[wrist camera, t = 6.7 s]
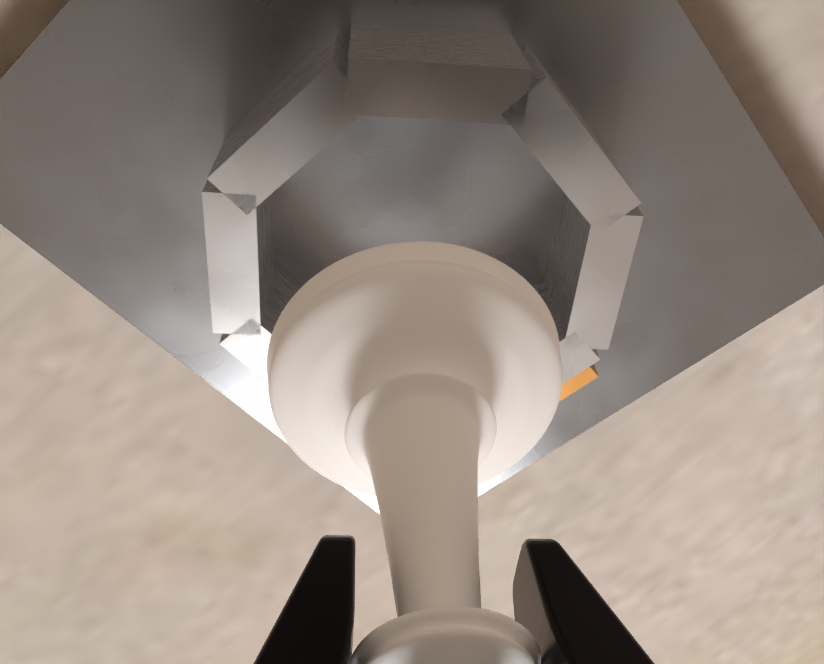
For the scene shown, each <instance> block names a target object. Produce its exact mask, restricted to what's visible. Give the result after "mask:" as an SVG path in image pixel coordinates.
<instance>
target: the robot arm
mask: <svg viewBox="0 0 824 664" xmlns="http://www.w3.org/2000/svg"><path fill="white" fill-rule="evenodd" d="M513 603H514V614H515V621H517V622H518V623H520V624H521V625H523V626H524V627H525V628H526V629H527V630H528V631H529V632H530V633H531V634H532V635H533V637H534V638H535V640H536V641H537V643H538V646H539V648H540V652H541V664H654V663H653V661H652V660H651V659H650V658H649V656H648V655H647V654H646V652H645V651H644V650H643V649H642V647H641V646H640V645H639V644H638V642H637V641H636V640H635V639H634V637H633V636H632V635H631V634H630V632H629V631H628V630H627V628H626V627H625V626H624V625H623V623H622V622H621V621H620V620H619V618H618V617H617V616H616V615H615V613H614V612H613V611H612V610H611V608H610V607H609V606H608V605H607V603H606V602H605V601H604V599H603V598H602V597H601V596H600V594H599V593H598V592H597V591H596V589H595V588H594V587H593V586H592V584H591V583H590V582H589V581H588V579H587V578H586V577H585V575H584V574H583V573H582V572H581V570H580V569H579V568H578V567H577V565H576V564H575V563H574V562H573V560H572V559H571V558H570V557H569V555H568V554H567V553H566V551H565V550H564V549H563V548H562V546H561V545H560V544H559V543H558V542H557V541H555V540H552V539H526V540H525V541H524V542H523V544H522V546H521V550H520V555H519V559H518V563H517V568H516V572H515V576H514V581H513ZM354 611H355V539H354V537H352V536H349V535H325V536H323V537H322V538H321V539H320V541H319V543H318V544H317V546H316V548H315V550H314V552H313V554H312V556H311V558H310V559H309V561H308V563H307V565H306V567H305V569H304V571H303V572H302V574H301V576H300V578H299V580H298V582H297V584H296V586H295V587H294V589H293V591H292V593H291V595H290V597H289V599H288V600H287V602H286V604H285V606H284V608H283V610H282V612H281V614H280V615H279V617H278V619H277V621H276V623H275V625H274V627H273V628H272V630H271V632H270V634H269V636H268V638H267V640H266V641H265V643H264V645H263V647H262V649H261V651H260V653H259V655H258V656H257V658H256V660H255V662H254V664H351V657H352V645H353V628H354Z"/></svg>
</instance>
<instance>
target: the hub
mask: <svg viewBox="0 0 824 664" xmlns="http://www.w3.org/2000/svg"><path fill="white" fill-rule="evenodd" d="M0 224H1V225H3V226H4V227H5V228H7V229H8V230H9V231H11V232H12V233H13V234H14V235H16V236H17V237H18V238H20V239H21V240H22V241H24V242H25V243H26V244H28V245H29V246H30V247H31V248H33V249H34V250H35V251H37V252H38V253H39V254H41V255H42V256H43V257H45V258H46V259H47V260H48V261H50V262H51V263H52V264H54V265H55V266H56V267H58V268H59V269H60V270H62V271H63V272H64V273H65V274H67V275H68V276H69V277H71V278H72V279H73V280H75V281H76V282H77V283H79V284H80V285H81V286H82V287H84V288H85V289H86V290H88V291H89V292H90V293H92V294H93V295H94V296H96V297H97V298H98V299H99V300H101V301H102V302H103V303H105V304H106V305H107V306H109V307H110V308H111V309H112V310H114V311H115V312H116V313H118V314H119V315H120V316H122V317H123V318H124V319H126V320H127V321H128V322H129V323H131V324H132V325H133V326H135V327H136V328H137V329H139V330H140V331H141V332H143V333H144V334H145V335H146V336H148V337H149V338H150V339H152V340H153V341H154V342H156V343H157V344H158V345H160V346H161V347H162V348H163V349H165V350H166V351H167V352H169V353H170V354H171V355H173V356H174V357H175V358H177V359H178V360H179V361H180V362H182V363H183V364H184V365H186V366H187V367H188V368H190V369H191V370H192V371H194V372H195V373H196V374H197V375H199V376H200V377H201V378H203V379H204V380H205V381H207V382H208V383H209V384H211V385H212V386H213V387H214V388H216V389H217V390H218V391H220V392H221V393H222V394H224V395H225V396H226V397H228V398H229V399H230V400H231V401H233V402H234V403H235V404H237V405H238V406H239V407H241V408H242V409H243V410H245V411H246V412H247V413H248V414H250V415H251V416H252V417H254V418H255V419H256V420H258V421H259V422H260V423H262V424H263V425H264V426H265V427H267V428H268V429H269V430H271V431H272V432H273V433H275V434H276V435H277V436H278V437H280V438H281V439H282V440H284V441H285V439H284V437H283V436H282V434H281V432H280V430H279V428H278V426H277V424H276V422H275V419H274V416H273V413H272V409H271V405H270V400H269V389H268V378H267V353H268V347H269V342H270V338H271V335H272V332H273V329H274V327H275V324H276V322H277V320H278V318H279V316H280V315H281V313H282V311H283V310H284V308H285V306H286V305H287V304H288V302H289V301H290V300H291V298H292V297H293V296H294V295H295V294H296V293H297V291H298V290H299V289H300V288H301V287H302V286H303V285H304V284H306V283H307V282H308V281H309V280H310V279H311V278H313V277H314V276H315V275H316V274H318V273H319V272H321V271H322V270H324V269H325V268H326V267H328V266H330V265H332V264H333V263H335V262H337V261H339V260H341V259H343V258H345V257H347V256H350V255H352V254H355V253H357V252H360V251H363V250H366V249H369V248H373V247H377V246H381V245H386V244H392V243H399V242H412V241H430V242H441V243H448V244H453V245H458V246H462V247H466V248H470V249H473V250H476V251H479V252H481V253H484V254H486V255H489V256H491V257H493V258H495V259H497V260H499V261H501V262H502V263H504V264H506V265H507V266H509V267H510V268H512V269H513V270H515V271H516V272H517V273H518V274H520V275H521V276H522V277H523V278H524V279H526V280H527V281H528V282H529V283H530V284H531V286H532V287H533V288H534V289H535V290H536V291H537V292H538V294H539V295H540V296H541V298H542V299H543V301H544V302H545V304H546V305H547V307H548V309H549V311H550V313H551V315H552V318H553V320H554V322H555V326H556V329H557V333H558V338H559V344H560V356H561V361H562V372H563V374H562V389H561V395H560V399H559V403H558V406H557V409H556V412H555V414H554V416H553V419H552V421H551V422H550V424H549V426H548V428H547V429H546V431H545V433H544V434H543V436H542V437H541V438H540V440H539V441H538V442H537V443H536V445H535V446H534V447H533V448H532V449H531V450H530V451H529V452H528V453H527V454H526V455H525V456H524V457H523V458H522V459H521V460H519V461H518V462H517V463H516V464H514V465H513V466H512V467H510V468H509V469H507V470H506V471H504V472H503V473H501V474H500V475H498V476H496V477H494V478H493V479H491V480H489V481H487V482H485V483H482V484H480V485H478V496H480V495H481V494H483V493H485V492H486V491H488V490H490V489H491V488H493V487H495V486H496V485H498V484H499V483H501V482H503V481H504V480H506V479H508V478H509V477H511V476H512V475H514V474H516V473H517V472H519V471H521V470H522V469H524V468H525V467H527V466H529V465H530V464H532V463H534V462H535V461H537V460H539V459H540V458H542V457H543V456H545V455H547V454H548V453H550V452H552V451H553V450H555V449H556V448H558V447H560V446H561V445H563V444H565V443H566V442H568V441H570V440H571V439H573V438H574V437H576V436H578V435H579V434H581V433H583V432H584V431H586V430H587V429H589V428H591V427H592V426H594V425H596V424H597V423H599V422H600V421H602V420H604V419H605V418H607V417H609V416H610V415H612V414H614V413H615V412H617V411H618V410H620V409H622V408H623V407H625V406H627V405H628V404H630V403H631V402H633V401H635V400H636V399H638V398H640V397H641V396H643V395H645V394H646V393H648V392H649V391H651V390H653V389H654V388H656V387H658V386H659V385H661V384H662V383H664V382H666V381H667V380H669V379H671V378H672V377H674V376H675V375H677V374H679V373H680V372H682V371H684V370H685V369H687V368H689V367H690V366H692V365H693V364H695V363H697V362H698V361H700V360H702V359H703V358H705V357H706V356H708V355H710V354H711V353H713V352H715V351H716V350H718V349H720V348H721V347H723V346H724V345H726V344H728V343H729V342H731V341H733V340H734V339H736V338H737V337H739V336H741V335H742V334H744V333H746V332H747V331H749V330H750V329H752V328H754V327H755V326H757V325H759V324H760V323H762V322H764V321H765V320H767V319H768V318H770V317H772V316H773V315H775V314H777V313H778V312H780V311H781V310H783V309H785V308H786V307H788V306H790V305H791V304H793V303H795V302H796V301H798V300H799V299H801V298H803V297H804V296H806V295H808V294H809V293H811V292H812V291H814V290H816V289H817V288H819V287H821V286H822V285H824V236H823V235H822V233H821V231H820V230H819V228H818V227H817V225H816V223H815V222H814V220H813V218H812V217H811V215H810V214H809V212H808V210H807V209H806V207H805V206H804V204H803V202H802V201H801V199H800V197H799V196H798V194H797V193H796V191H795V189H794V188H793V186H792V185H791V183H790V181H789V180H788V178H787V177H786V175H785V173H784V172H783V170H782V168H781V167H780V165H779V164H778V162H777V160H776V159H775V157H774V156H773V154H772V152H771V151H770V149H769V148H768V146H767V144H766V143H765V141H764V139H763V138H762V136H761V135H760V133H759V131H758V130H757V128H756V127H755V125H754V123H753V122H752V120H751V118H750V117H749V115H748V114H747V112H746V110H745V109H744V107H743V106H742V104H741V102H740V101H739V99H738V98H737V96H736V94H735V93H734V91H733V89H732V88H731V86H730V85H729V83H728V81H727V80H726V78H725V77H724V75H723V73H722V72H721V70H720V68H719V67H718V65H717V64H716V62H715V60H714V59H713V57H712V56H711V54H710V52H709V51H708V49H707V48H706V46H705V44H704V43H703V41H702V39H701V38H700V36H699V35H698V33H697V31H696V30H695V28H694V27H693V25H692V23H691V22H690V20H689V18H688V17H687V15H686V14H685V12H684V10H683V9H682V7H681V6H680V4H679V2H678V1H677V0H69V1H68V2H67V3H66V4H65V6H64V7H63V8H62V9H61V10H60V11H59V12H58V14H57V15H56V16H55V17H54V18H53V19H52V20H51V22H50V23H49V24H48V25H47V26H46V27H45V28H44V30H43V31H42V32H41V33H40V34H39V35H38V37H37V38H36V39H35V40H34V41H33V42H32V43H31V45H30V46H29V47H28V48H27V49H26V50H25V51H24V53H23V54H22V55H21V56H20V57H19V58H18V59H17V61H16V62H15V63H14V64H13V65H12V66H11V67H10V69H9V70H8V71H7V72H6V73H5V74H4V76H3V77H2V78H1V79H0ZM285 442H286V441H285ZM286 443H287V442H286ZM345 488H346V487H345ZM346 489H348V490H349V491H350V492H352V493H353V494H354V495H356V496H357V497H358V498H360V499H361V500H362V501H363V502H365V503H366V504H367V505H369V506H370V507H371V508H373V509H374V510H375V511H377V512H378V513H379V509H378V504H377V499H376V496H374V495H369V494H365V493H361V492H358V491H355V490H352V489H349V488H346Z"/></svg>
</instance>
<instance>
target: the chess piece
mask: <svg viewBox="0 0 824 664" xmlns="http://www.w3.org/2000/svg"><path fill="white" fill-rule="evenodd" d="M562 374H563V372H562V361H561V356H560V344H559V338H558V333H557V329H556V326H555V322H554V320H553V318H552V315H551V313H550V311H549V309H548V307H547V305H546V304H545V302H544V301H543V299H542V298H541V296H540V295H539V294H538V292H537V291H536V290H535V289H534V288H533V287H532V286H531V284H530V283H529V282H528V281H527V280H526V279H524V278H523V277H522V276H521V275H520V274H518V273H517V272H516V271H515V270H513V269H512V268H510V267H509V266H507V265H506V264H504V263H502V262H501V261H499V260H497V259H495V258H493V257H491V256H489V255H486V254H484V253H481V252H479V251H476V250H473V249H470V248H466V247H462V246H458V245H453V244H448V243H441V242H430V241H412V242H399V243H392V244H386V245H381V246H377V247H373V248H369V249H366V250H363V251H360V252H357V253H355V254H352V255H350V256H347V257H345V258H343V259H341V260H339V261H337V262H335V263H333V264H332V265H330V266H328V267H326V268H325V269H324V270H322V271H321V272H319V273H318V274H316V275H315V276H314V277H313V278H311V279H310V280H309V281H308V282H307V283H306V284H304V285H303V286H302V287H301V288H300V289H299V290H298V291H297V293H296V294H295V295H294V296H293V297H292V298H291V300H290V301H289V302H288V304H287V305H286V306H285V308H284V310H283V311H282V313H281V315H280V316H279V318H278V320H277V322H276V324H275V327H274V329H273V332H272V335H271V338H270V342H269V347H268V353H267V378H268V389H269V400H270V405H271V409H272V413H273V416H274V419H275V422H276V424H277V426H278V428H279V430H280V432H281V434H282V436H283V437H284V439H285V441H286V442H287V443H288V445H289V446H290V447H291V449H292V450H293V451H294V452H295V453H296V454H297V455H298V456H299V457H300V459H302V460H303V461H304V462H305V463H306V464H307V465H308V466H310V467H311V468H312V469H314V470H315V471H316V472H318V473H319V474H321V475H322V476H324V477H326V478H327V479H329V480H331V481H333V482H335V483H337V484H339V485H341V486H344V487H346V488H349V489H352V490H355V491H358V492H361V493H365V494H369V495H374V496H376V499H377V504H378V509H379V514H380V519H381V524H382V528H383V533H384V539H385V544H386V550H387V555H388V560H389V565H390V571H391V577H392V584H393V591H394V598H395V604H396V610H397V615H398V617H397V618H394V619H392V620H390V621H388V622H386V623H384V624H383V625H381V626H379V627H378V628H376V629H375V630H374V631H372V632H371V633H370V634H369V635H367V636H366V637H365V638H364V639H363V640H362V641H361V643H360V644H359V645H358V646H357V648H356V649H355V651H354V653H353V655H352V657H351V664H541V652H540V648H539V646H538V643H537V641H536V640H535V638H534V637H533V635H532V634H531V633H530V632H529V631H528V630H527V629H526V628H525V627H524V626H523V625H521V624H520V623H518V622H517V621H515V620H513V619H511V618H509V617H507V616H505V615H502V614H500V613H497V612H494V611H490V610H486V609H481V594H480V576H479V558H478V485H480V484H482V483H485V482H487V481H489V480H491V479H493V478H494V477H496V476H498V475H500V474H501V473H503V472H504V471H506V470H507V469H509V468H510V467H512V466H513V465H514V464H516V463H517V462H518V461H519V460H521V459H522V458H523V457H524V456H525V455H526V454H527V453H528V452H529V451H530V450H531V449H532V448H533V447H534V446H535V445H536V443H537V442H538V441H539V440H540V438H541V437H542V436H543V434H544V433H545V431H546V429H547V428H548V426H549V424H550V422H551V421H552V419H553V416H554V414H555V412H556V409H557V406H558V403H559V399H560V395H561V389H562Z"/></svg>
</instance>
